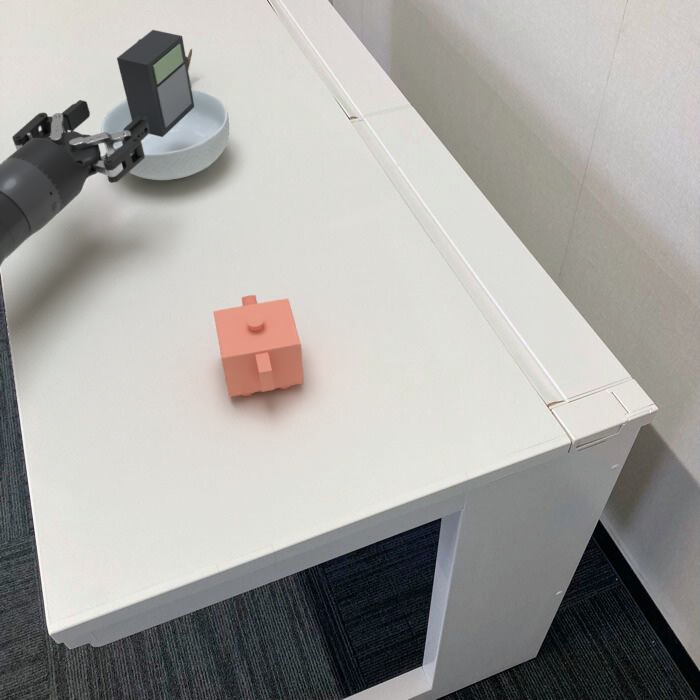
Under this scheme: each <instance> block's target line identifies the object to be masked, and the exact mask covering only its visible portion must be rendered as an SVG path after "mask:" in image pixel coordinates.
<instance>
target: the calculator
mask: <svg viewBox="0 0 700 700" xmlns="http://www.w3.org/2000/svg"><path fill="white" fill-rule="evenodd" d="M137 41H138V42H137ZM137 41H136V42H135V43H134V44H133V45H132V46H130V47H129V48H127V49H126V50H125V51H124V52H123V53H121V54H120V55H118V57H116V60H117V65H118V69H119V73H120V78H121V81H122V85H123V90H124V92H125V93H124V94H125V97H126V99H127V102H128V106H129V110H130V114H131V118H132V121H133V120H134V119H135V118H136V117H137V116H138V115H142V116H146V118H147V122H148V127H149V134H152V135H156V136H160V137H163V136H164V135H165V134H167V133H168V132H169V131H170V130H171V129H172V128H173V127H174V126H175V125H176V124H177V123H178V122H179V121H180V120H181V119H182V118H183V117H184V116H185V115H186V114H187V113H189V112H190V111H191V110H192V109H193V108H194V102H193V96H192V90H191V89H192V85H191V80H190V72H189V69H188V67H187V61H186V57H187V56H186V50H185V44H184V38H183V36H182V35H179V34H175V33H170V32H166V31H161V30H156V29H152V30H151V31H150V32H148V33H147V34H146V35H144V36H143V37H142V38H140V40H139V39H138V40H137Z"/></svg>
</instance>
